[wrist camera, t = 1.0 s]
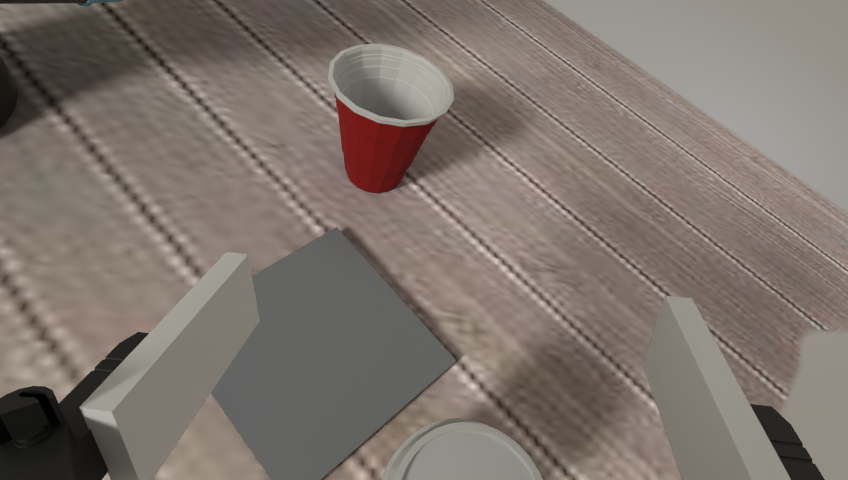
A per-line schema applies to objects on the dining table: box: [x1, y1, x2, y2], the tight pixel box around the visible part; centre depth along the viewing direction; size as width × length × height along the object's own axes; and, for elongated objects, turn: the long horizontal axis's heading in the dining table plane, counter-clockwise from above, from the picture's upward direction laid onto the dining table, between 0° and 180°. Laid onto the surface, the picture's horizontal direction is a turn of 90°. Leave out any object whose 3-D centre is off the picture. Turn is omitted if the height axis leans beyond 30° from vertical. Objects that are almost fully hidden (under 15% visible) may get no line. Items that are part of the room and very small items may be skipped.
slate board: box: [211, 227, 456, 480], centre depth 40 cm, size 16×16×1 cm
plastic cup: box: [328, 44, 454, 193], centre depth 47 cm, size 11×11×12 cm
